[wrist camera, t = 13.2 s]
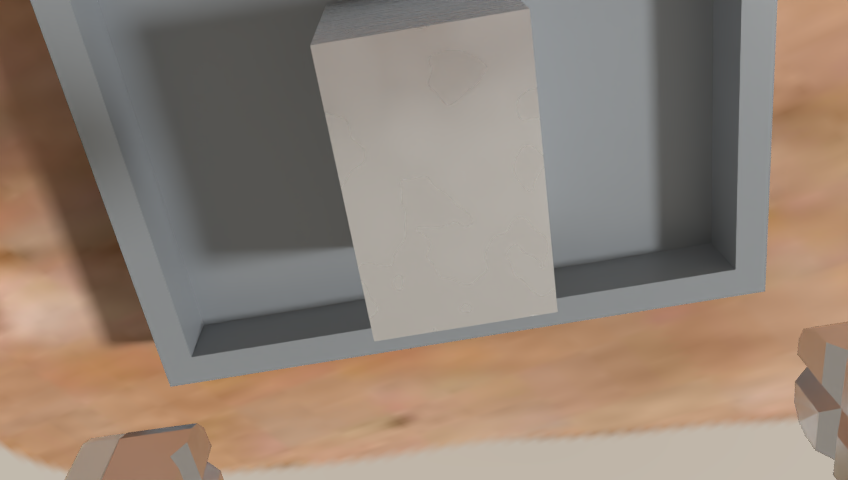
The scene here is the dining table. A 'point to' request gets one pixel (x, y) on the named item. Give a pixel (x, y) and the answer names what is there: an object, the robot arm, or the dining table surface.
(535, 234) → the block
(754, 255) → the tray
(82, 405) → the dining table surface
